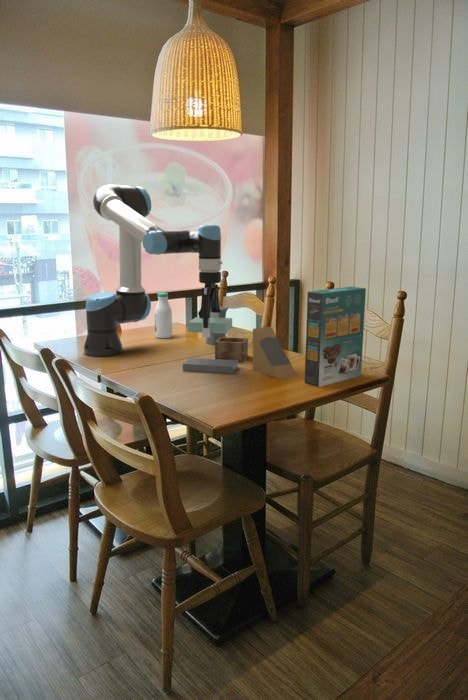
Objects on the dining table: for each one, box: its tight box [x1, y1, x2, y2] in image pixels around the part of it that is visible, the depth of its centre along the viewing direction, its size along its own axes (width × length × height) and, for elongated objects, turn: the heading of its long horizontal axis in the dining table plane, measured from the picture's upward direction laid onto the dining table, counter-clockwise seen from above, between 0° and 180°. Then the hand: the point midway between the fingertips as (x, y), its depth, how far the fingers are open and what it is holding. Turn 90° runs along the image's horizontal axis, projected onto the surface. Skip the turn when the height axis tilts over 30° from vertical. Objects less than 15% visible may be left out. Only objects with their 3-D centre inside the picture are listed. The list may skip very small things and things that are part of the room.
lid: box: [187, 316, 233, 335], centre depth 197 cm, size 13×11×4 cm
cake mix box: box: [304, 286, 367, 388], centre depth 185 cm, size 22×6×30 cm, turn 130°
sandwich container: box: [252, 326, 298, 380], centre depth 195 cm, size 9×15×15 cm, turn 36°
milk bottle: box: [154, 292, 173, 339], centre depth 253 cm, size 8×8×20 cm
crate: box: [214, 336, 249, 362], centre depth 217 cm, size 11×9×7 cm
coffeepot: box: [197, 305, 230, 346], centre depth 242 cm, size 15×9×18 cm, turn 126°
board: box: [182, 357, 239, 375], centre depth 201 cm, size 18×9×2 cm, turn 79°
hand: (210, 333), depth 198 cm, fingers closed on lid, 11 cm apart
